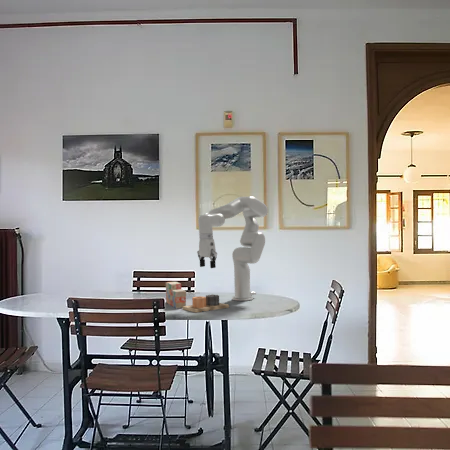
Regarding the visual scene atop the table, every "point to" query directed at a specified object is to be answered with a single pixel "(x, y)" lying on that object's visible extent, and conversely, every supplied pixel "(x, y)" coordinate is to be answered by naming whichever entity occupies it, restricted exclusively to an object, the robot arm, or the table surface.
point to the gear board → (208, 304)
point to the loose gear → (199, 302)
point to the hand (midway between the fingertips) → (207, 267)
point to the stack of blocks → (175, 294)
